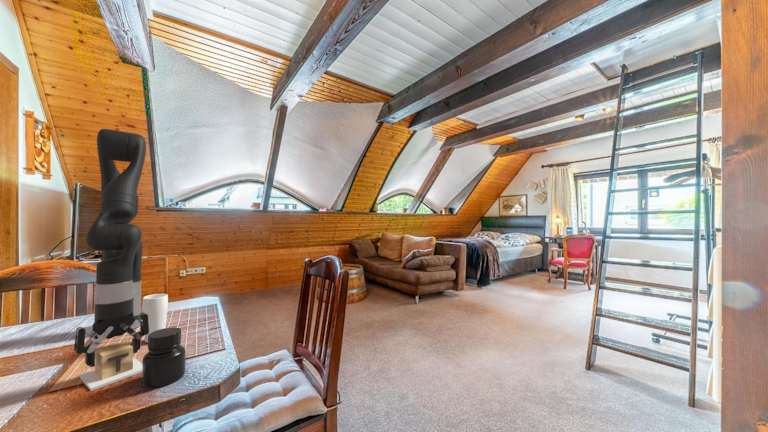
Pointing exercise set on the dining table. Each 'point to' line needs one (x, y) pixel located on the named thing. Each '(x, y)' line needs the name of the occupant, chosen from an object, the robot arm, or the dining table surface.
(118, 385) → the dining table surface
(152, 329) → the white cup
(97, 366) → the lettered block
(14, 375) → the dining table surface
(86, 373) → the white mat
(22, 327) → the dining table surface
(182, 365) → the ink bottle
